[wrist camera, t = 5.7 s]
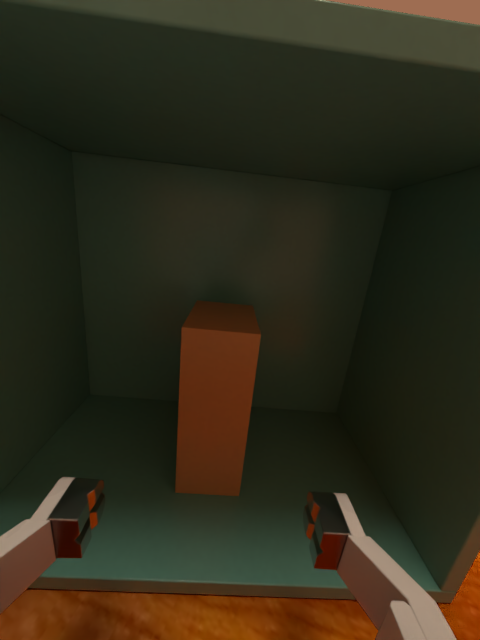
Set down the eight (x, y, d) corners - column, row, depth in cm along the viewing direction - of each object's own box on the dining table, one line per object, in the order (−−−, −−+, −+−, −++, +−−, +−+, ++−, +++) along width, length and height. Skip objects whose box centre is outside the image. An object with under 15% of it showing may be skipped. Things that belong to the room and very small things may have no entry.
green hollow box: (451, 604, 15) (745, 65, 7) (-87, 585, 13) (-375, -115, 6) (339, 415, 30) (400, 180, 23) (85, 396, 28) (64, 138, 21)
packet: (174, 493, 18) (181, 327, 14) (189, 427, 24) (196, 300, 20) (239, 496, 18) (261, 334, 15) (237, 431, 24) (253, 305, 21)
